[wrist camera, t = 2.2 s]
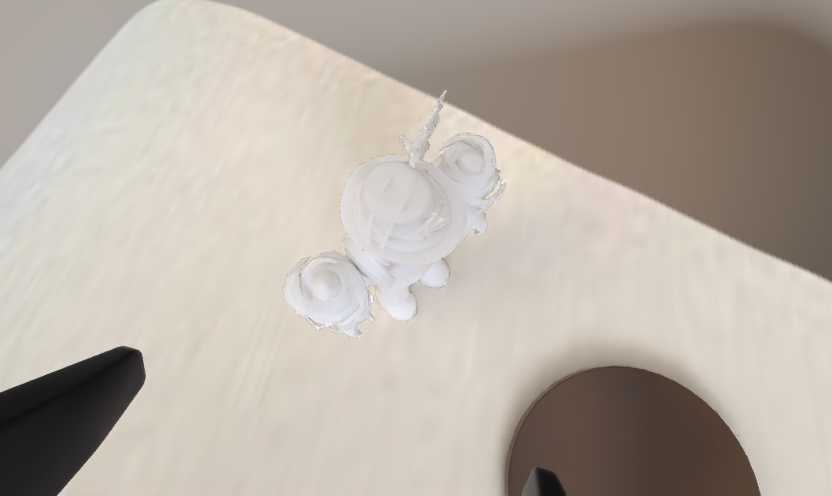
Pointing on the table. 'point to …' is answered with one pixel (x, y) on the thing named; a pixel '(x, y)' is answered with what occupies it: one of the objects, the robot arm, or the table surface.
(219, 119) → the table surface
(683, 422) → the coaster
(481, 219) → the hat wearing toy figure
